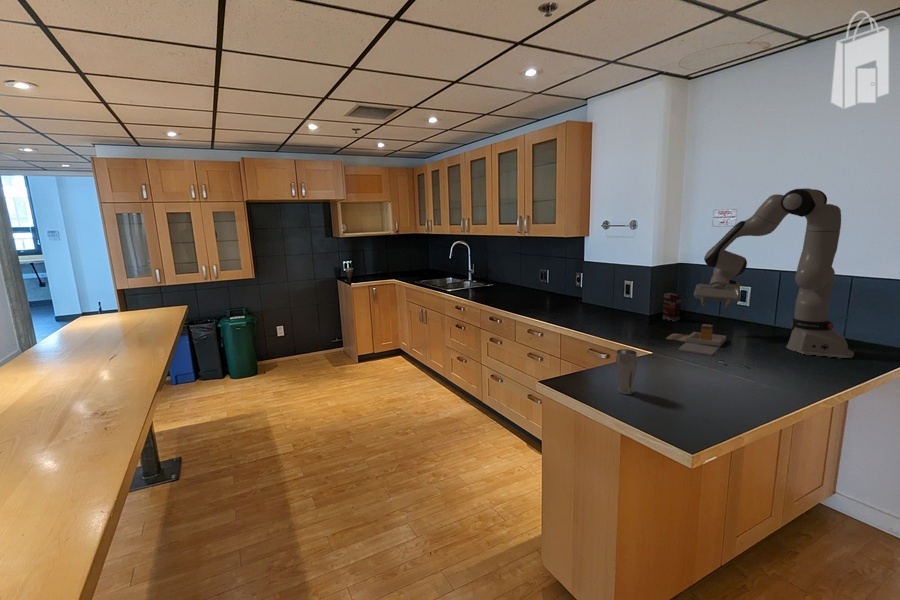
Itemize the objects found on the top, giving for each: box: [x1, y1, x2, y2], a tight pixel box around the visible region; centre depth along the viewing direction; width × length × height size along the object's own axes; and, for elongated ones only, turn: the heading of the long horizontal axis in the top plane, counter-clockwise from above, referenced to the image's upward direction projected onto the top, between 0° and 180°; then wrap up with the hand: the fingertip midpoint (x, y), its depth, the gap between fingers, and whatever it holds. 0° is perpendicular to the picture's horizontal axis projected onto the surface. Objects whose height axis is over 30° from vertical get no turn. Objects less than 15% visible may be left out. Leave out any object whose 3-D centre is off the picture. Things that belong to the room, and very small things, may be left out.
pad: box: [665, 333, 690, 343], centre depth 213 cm, size 9×12×1 cm
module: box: [700, 323, 713, 341], centre depth 204 cm, size 4×4×8 cm
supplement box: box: [662, 292, 682, 322], centre depth 250 cm, size 9×5×16 cm, turn 25°
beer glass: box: [615, 348, 638, 394], centre depth 151 cm, size 7×7×15 cm
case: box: [677, 331, 727, 357], centre depth 200 cm, size 14×28×3 cm, turn 137°
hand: (713, 306), depth 211 cm, fingers open, 8 cm apart
